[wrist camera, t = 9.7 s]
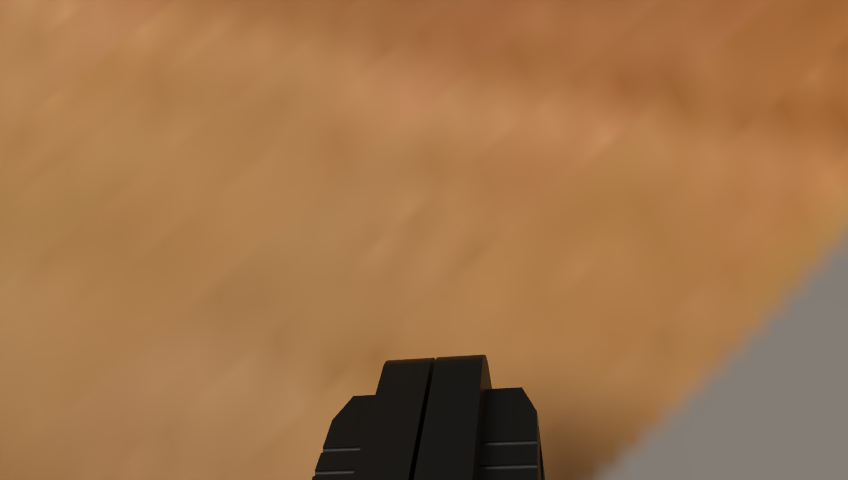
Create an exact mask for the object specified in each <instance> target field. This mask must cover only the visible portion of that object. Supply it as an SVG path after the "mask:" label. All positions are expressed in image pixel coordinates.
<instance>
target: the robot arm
mask: <svg viewBox="0 0 848 480" xmlns="http://www.w3.org/2000/svg"><path fill="white" fill-rule="evenodd" d="M312 480H545V475H544V467H543V459H542V451H541V442H540V434H539V426H538V418H537V411H536V409H535V408H534V406H533V404H532V403H531V401H530V400H529V398H528V397H527V395H526V393H525V392H524V390H523V389H522V387H521V388H501V389H492V386H491V380H490V373H489V367H488V362H487V358H486V355H471V356H454V357H438V358H436V360H435V358H423V359H406V360H389V361H386V362H385V364H384V366H383V370H382V373H381V377H380V380H379V384H378V388H377V391H376V395H365V396H353V397H352V398H351V400H350V401H349V402H348V403H347V404H346V405H345V406H344V408H343V409H342V410H341V411H340V412H339V413H338V414H337V415H336V417H335V418H334V419H333V420H332V423H331V425H330V428H329V431H328V434H327V437H326V440H325V443H324V446H323V453H321V455H320V457H319V460H318V463H317V466H316V469H315V476H313V478H312Z"/></svg>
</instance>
